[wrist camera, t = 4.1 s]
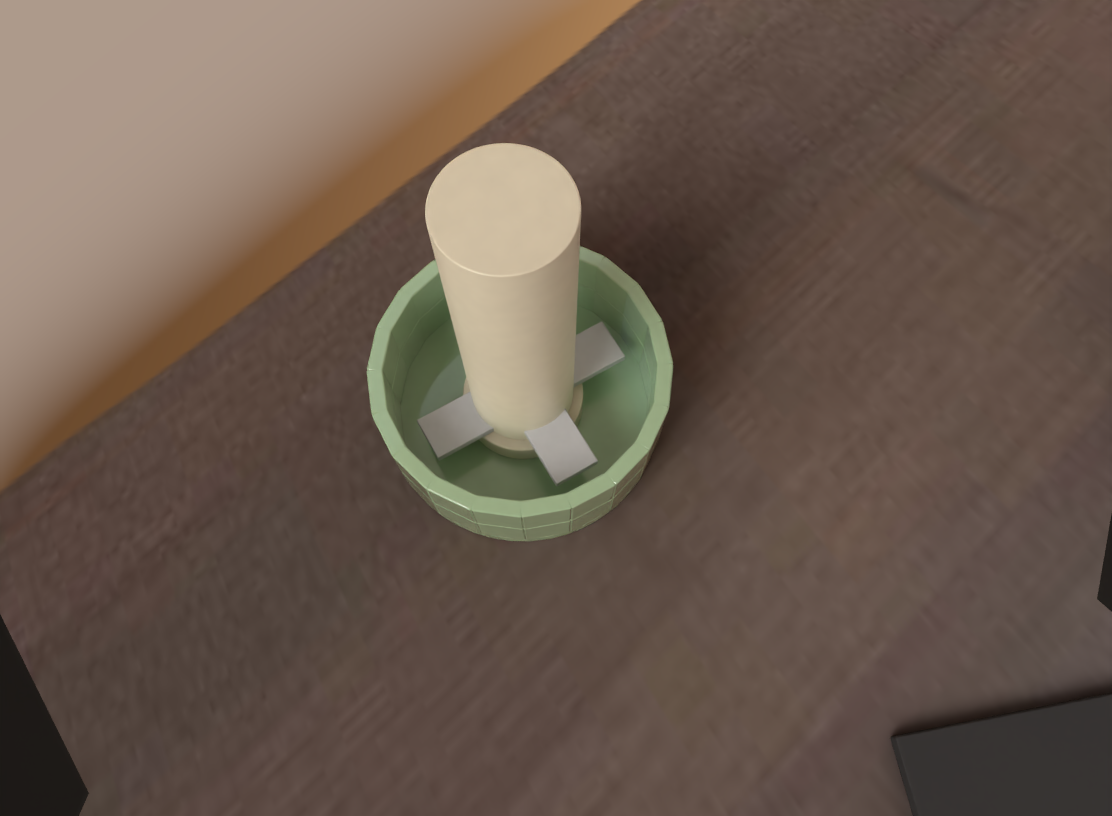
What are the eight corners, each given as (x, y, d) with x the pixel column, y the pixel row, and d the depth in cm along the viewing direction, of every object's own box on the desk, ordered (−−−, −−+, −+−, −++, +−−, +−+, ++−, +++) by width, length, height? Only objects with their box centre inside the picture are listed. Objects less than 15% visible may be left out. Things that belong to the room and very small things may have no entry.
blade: (560, 279, 38) (561, 30, 24) (665, 438, 35) (732, 258, 22) (386, 369, 36) (285, 158, 23) (483, 542, 34) (433, 419, 20)
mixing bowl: (628, 270, 38) (636, 214, 34) (686, 514, 34) (704, 485, 30) (376, 311, 38) (353, 259, 33) (407, 564, 34) (385, 541, 30)
